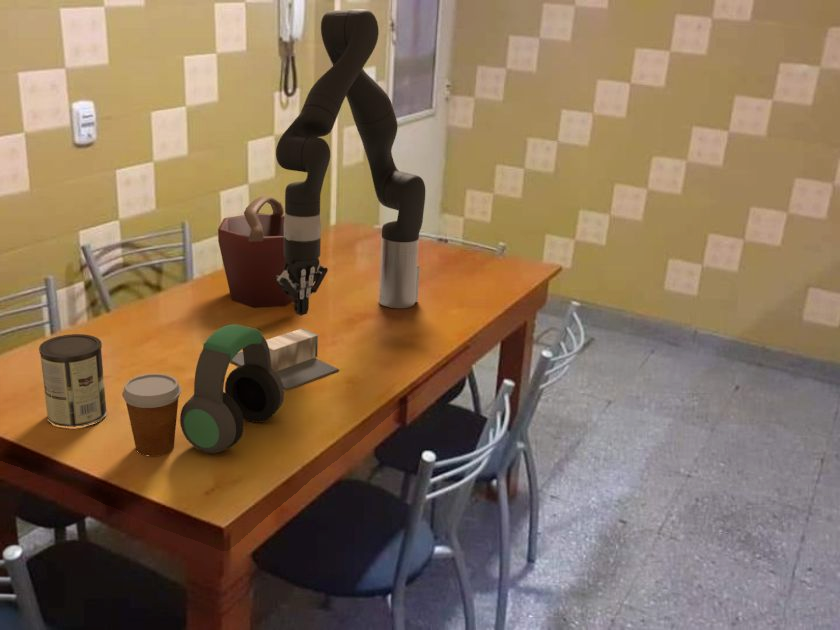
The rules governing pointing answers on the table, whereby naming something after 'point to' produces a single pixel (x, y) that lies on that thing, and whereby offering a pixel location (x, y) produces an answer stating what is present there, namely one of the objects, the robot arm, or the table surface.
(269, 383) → the headphones
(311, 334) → the cream block
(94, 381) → the coffee can
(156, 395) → the disposable coffee cup
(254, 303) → the bucket
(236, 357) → the mat
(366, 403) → the table surface
